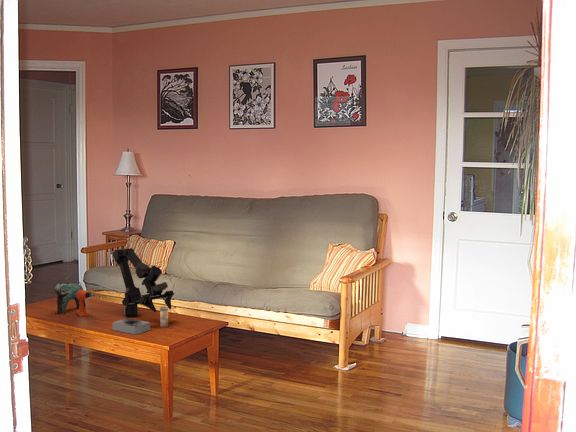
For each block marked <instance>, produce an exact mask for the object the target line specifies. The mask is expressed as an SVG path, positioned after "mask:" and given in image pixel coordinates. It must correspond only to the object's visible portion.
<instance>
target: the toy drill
mask: <svg viewBox="0 0 576 432" xmlns="http://www.w3.org/2000/svg"><path fill="white" fill-rule="evenodd" d="M76 296H77V299H78V300H79V309H78V310H77V314H76V315H77V316H78V317H83V318H85V317H88V316H90V315H89V312H88V311H86V310H87V309H86V308H87V307H86V306H87V304H86V299H88V298H91V297H95V296H96V293H95V294H94V293H91V292H90V291H87V290H84V289H83V290H82V289H80V290H79V291H78V292H77V294H76Z"/></svg>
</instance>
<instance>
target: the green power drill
mask: <svg viewBox="0 0 576 432" xmlns="http://www.w3.org/2000/svg"><path fill="white" fill-rule="evenodd" d="M67 279H69V280H71V277H70V276H66V277H65V279H64V283H62V282H60V283H57V285H55V288H54V291H55V294H56V297H57V298H56V299H57V300H56V306H57V311H56V312H57V314H58V315H64V314H66V312H67V307H68V304H69V302H70V301H72V300H74V301H75V306H76V307H75V308H76V309H78V310H79V300H78V299H77V296H76V294H77V292H78V291H79V290H80V289H82V290H84V288H83V286H82V284H81V282H80V281H72V282H71V283H69V282H66V280H67Z"/></svg>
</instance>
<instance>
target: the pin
mask: <svg viewBox="0 0 576 432" xmlns="http://www.w3.org/2000/svg"><path fill="white" fill-rule="evenodd" d="M159 310H160V311H159V314H160V315H159V319H160V320H159V321H160V322H159V324H160V325H159V326H160V328H168V327H169V308H168V306H160V307H159Z"/></svg>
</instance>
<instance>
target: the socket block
mask: <svg viewBox="0 0 576 432" xmlns="http://www.w3.org/2000/svg"><path fill="white" fill-rule="evenodd" d="M112 331H115V332H116V331H117V332H121V333H126V334H131V335H140V334H143V333H146V332H148V331H151V322H150V321H145V320H141V319H135V318H131V317H126V318H122V319H120V320H119V319H118V320H116V321H112Z"/></svg>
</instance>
